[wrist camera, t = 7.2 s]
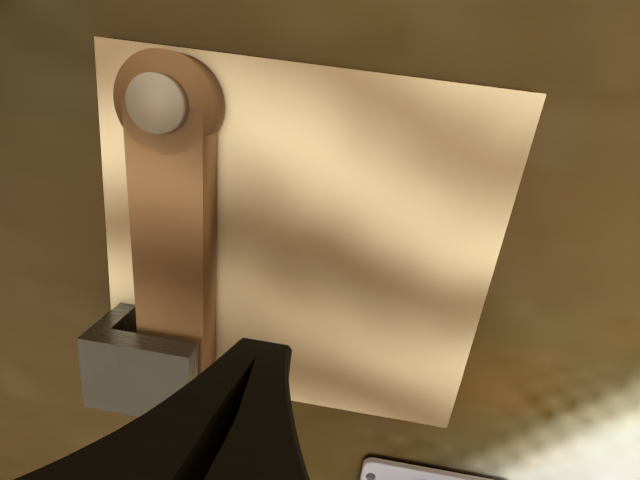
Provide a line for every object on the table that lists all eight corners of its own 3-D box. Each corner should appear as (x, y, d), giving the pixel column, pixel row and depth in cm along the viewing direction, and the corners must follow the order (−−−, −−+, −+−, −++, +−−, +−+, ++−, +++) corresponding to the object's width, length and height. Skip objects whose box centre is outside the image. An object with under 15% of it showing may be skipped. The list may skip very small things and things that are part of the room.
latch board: (443, 413, 21) (446, 427, 20) (125, 357, 22) (114, 369, 21) (535, 94, 15) (546, 94, 14) (109, 40, 16) (93, 36, 15)
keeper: (213, 378, 20) (187, 425, 17) (123, 362, 20) (83, 406, 18) (215, 318, 19) (188, 357, 16) (120, 302, 19) (77, 338, 16)
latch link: (132, 48, 15) (98, 40, 13) (225, 57, 15) (204, 51, 13) (151, 379, 20) (128, 409, 18) (220, 390, 20) (204, 421, 18)
